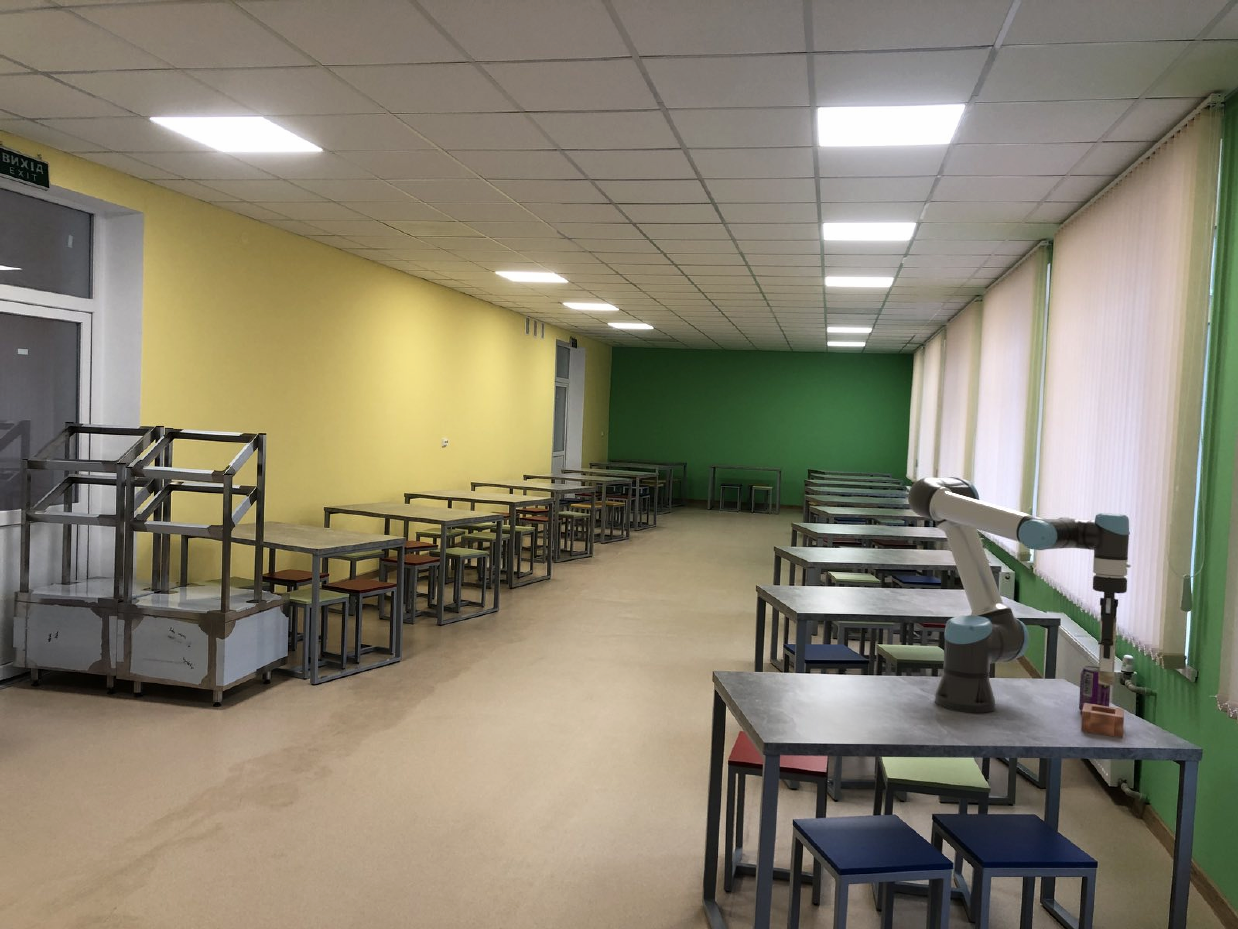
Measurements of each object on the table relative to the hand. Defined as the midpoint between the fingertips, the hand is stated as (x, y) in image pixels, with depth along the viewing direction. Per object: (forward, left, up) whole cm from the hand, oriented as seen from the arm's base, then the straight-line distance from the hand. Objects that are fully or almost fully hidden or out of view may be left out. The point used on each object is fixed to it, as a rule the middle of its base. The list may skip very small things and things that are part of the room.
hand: (1106, 669), depth 230 cm
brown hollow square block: (0, 0, -15) cm, 15 cm away
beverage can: (-3, +16, -15) cm, 22 cm away
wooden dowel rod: (0, 0, -4) cm, 4 cm away
